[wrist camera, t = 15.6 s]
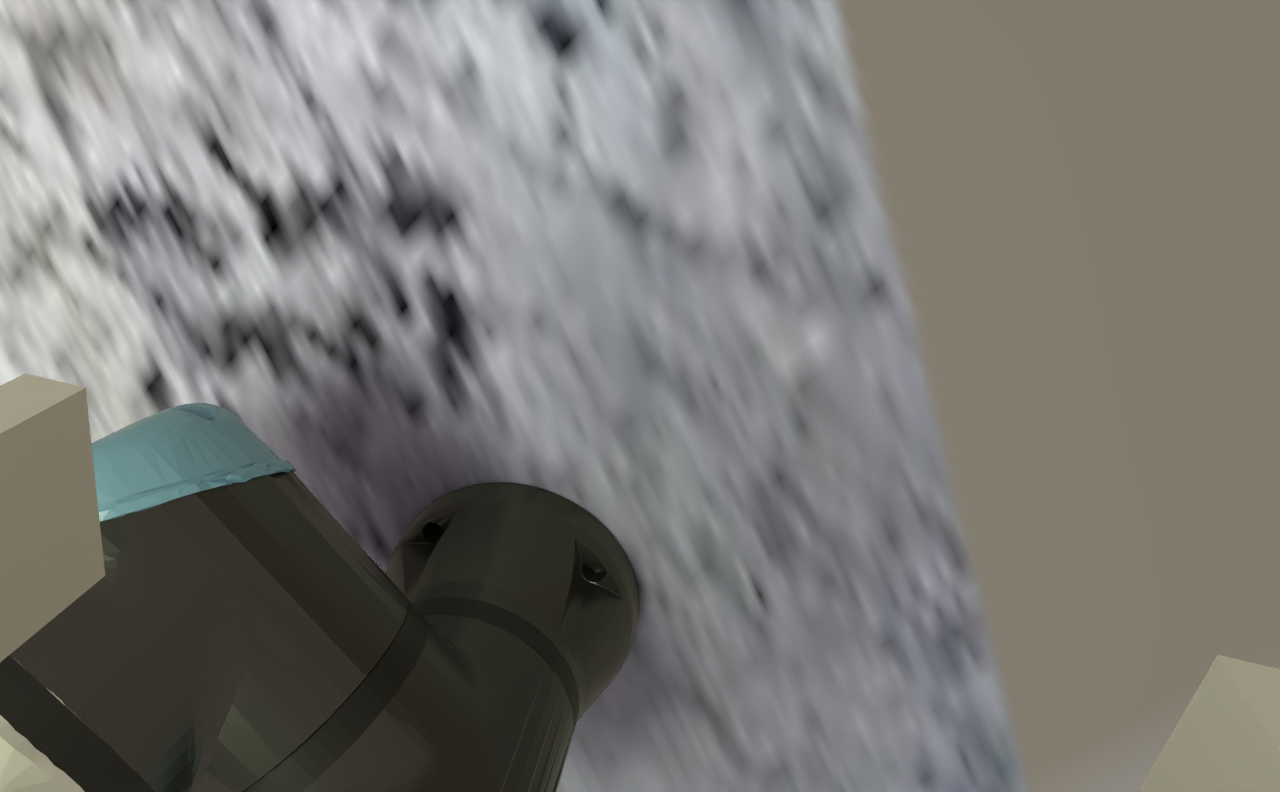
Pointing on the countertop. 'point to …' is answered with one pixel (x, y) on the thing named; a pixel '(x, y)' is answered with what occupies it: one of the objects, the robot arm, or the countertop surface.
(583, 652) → the robot arm
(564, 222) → the countertop surface
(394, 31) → the countertop surface
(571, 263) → the countertop surface
